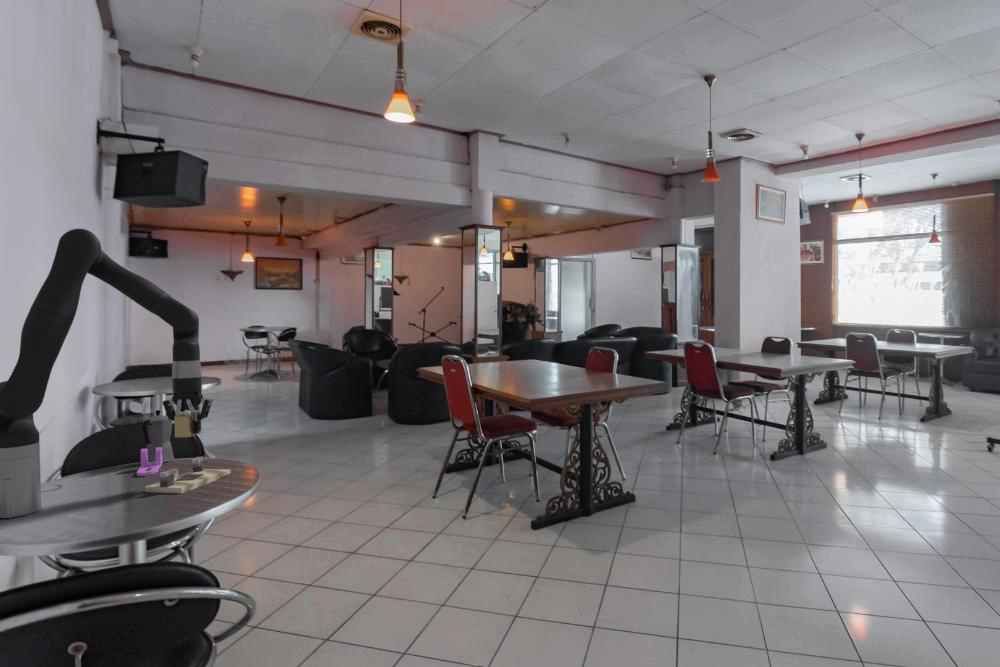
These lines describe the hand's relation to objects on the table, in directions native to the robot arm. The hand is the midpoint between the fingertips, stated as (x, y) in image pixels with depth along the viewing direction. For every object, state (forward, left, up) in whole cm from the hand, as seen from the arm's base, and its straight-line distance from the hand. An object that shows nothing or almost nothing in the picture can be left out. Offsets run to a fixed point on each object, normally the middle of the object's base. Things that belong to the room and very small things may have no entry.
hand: (188, 433), depth 162 cm
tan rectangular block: (0, 0, 0) cm, 0 cm away
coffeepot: (+22, +32, -15) cm, 42 cm away
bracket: (+10, +24, -15) cm, 30 cm away
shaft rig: (0, 0, -15) cm, 15 cm away
